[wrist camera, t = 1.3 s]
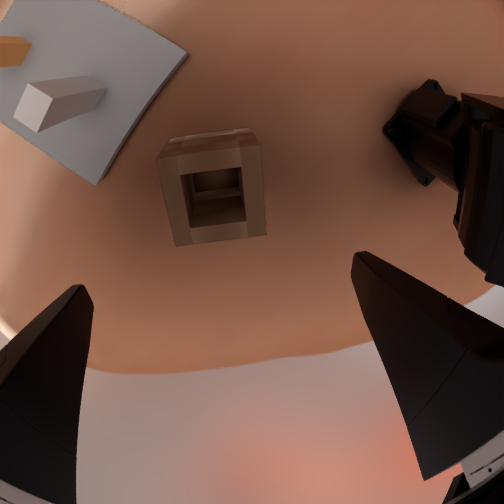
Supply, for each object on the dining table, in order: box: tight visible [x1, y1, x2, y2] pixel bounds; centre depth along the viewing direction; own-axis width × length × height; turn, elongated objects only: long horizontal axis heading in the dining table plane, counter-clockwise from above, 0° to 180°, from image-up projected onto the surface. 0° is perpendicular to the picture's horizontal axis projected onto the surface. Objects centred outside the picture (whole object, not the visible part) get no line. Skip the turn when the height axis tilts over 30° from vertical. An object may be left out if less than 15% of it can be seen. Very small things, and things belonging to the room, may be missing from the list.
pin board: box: [0, 0, 189, 186], centre depth 10 cm, size 14×10×8 cm
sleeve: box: [156, 128, 266, 247], centre depth 17 cm, size 5×5×5 cm
